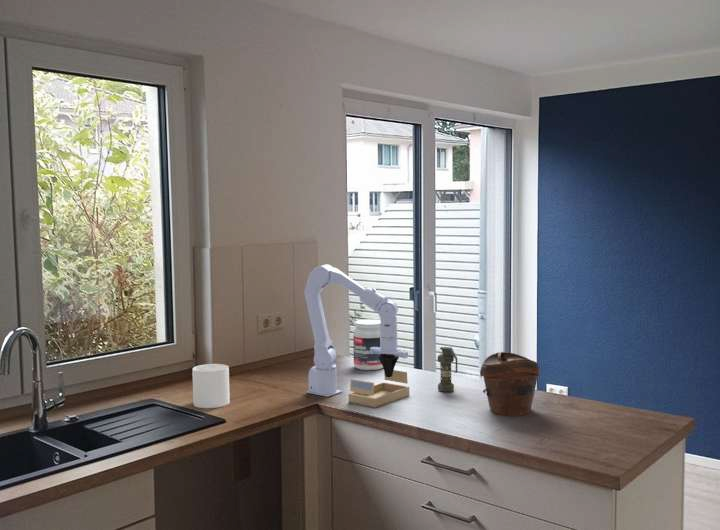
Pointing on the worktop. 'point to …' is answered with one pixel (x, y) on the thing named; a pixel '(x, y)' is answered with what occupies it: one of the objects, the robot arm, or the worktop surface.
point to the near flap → (362, 387)
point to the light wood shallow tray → (380, 395)
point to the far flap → (398, 376)
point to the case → (509, 383)
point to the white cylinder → (211, 386)
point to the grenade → (446, 369)
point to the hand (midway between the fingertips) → (388, 376)
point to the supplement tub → (366, 344)
